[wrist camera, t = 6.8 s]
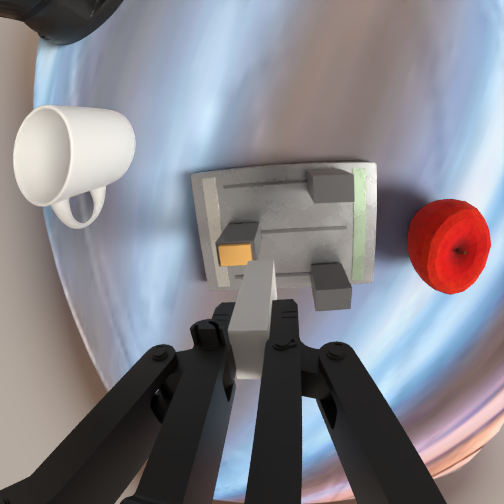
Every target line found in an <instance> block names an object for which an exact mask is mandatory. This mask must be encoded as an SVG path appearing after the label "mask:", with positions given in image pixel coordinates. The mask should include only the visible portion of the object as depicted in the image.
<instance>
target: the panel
mask: <svg viewBox="0 0 504 504" xmlns="http://www.w3.org/2000/svg"><path fill="white" fill-rule="evenodd" d="M315 169H342V170H344V171H347V172H349V173H351V174H354V194H355V202H340V203H316V204H314V202H313V200H312V199H311V197H310V195H309V193H308V182H307V170H315ZM190 176H191V183H192V191H193V198H194V204H195V211H196V218H197V224H198V230H199V237H200V243H201V249H202V254H203V260H204V266H205V272H206V277H207V282H208V288H209V291H221V290H240V286H241V283H242V280H243V276H244V273H245V269H246V266H247V265H244V266H222V267H219V264H218V258H217V251H216V245H215V242H216V241H217V239H218V238H219V236H220V235H221V233H222V232H223V230H224V229H225V227H226V226H227V225H229V224H243V223H257V222H260V231H261V242H262V243H261V248H260V252H259V257H258V260H272V259H274V267H275V279H276V289H279V288H299V287H312V286H311V265H319V264H337V263H341V264H342V266H343V268H344V271H345V273H346V275H347V277H348V280H349V282H350V284H362V283H372V282H373V271H374V259H375V243H376V216H377V175H376V163H375V162H370V161H348V162H311V163H292V164H276V165H263V166H251V167H241V168H231V169H222V170H214V171H206V172H198V173H194V174H191V175H190Z"/></svg>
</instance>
